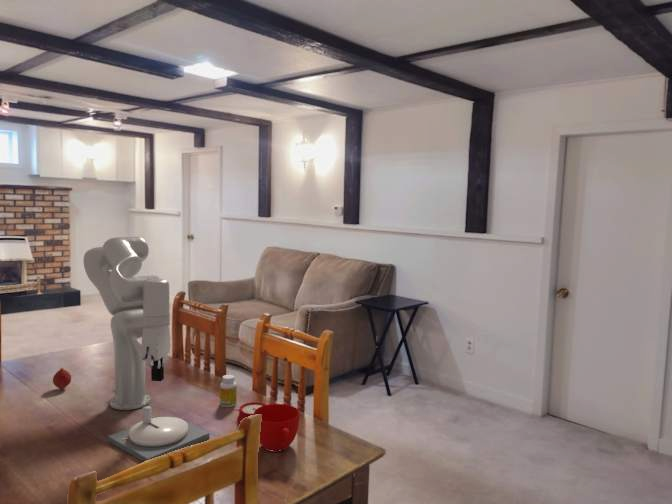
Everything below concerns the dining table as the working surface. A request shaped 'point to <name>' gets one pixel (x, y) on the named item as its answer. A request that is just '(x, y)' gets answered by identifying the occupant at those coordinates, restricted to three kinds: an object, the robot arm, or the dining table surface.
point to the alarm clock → (248, 410)
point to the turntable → (157, 430)
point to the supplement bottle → (228, 391)
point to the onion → (62, 379)
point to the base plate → (148, 453)
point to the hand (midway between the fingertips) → (157, 380)
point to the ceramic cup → (278, 425)
